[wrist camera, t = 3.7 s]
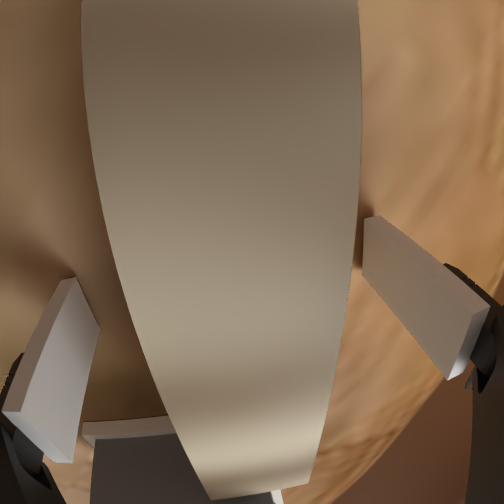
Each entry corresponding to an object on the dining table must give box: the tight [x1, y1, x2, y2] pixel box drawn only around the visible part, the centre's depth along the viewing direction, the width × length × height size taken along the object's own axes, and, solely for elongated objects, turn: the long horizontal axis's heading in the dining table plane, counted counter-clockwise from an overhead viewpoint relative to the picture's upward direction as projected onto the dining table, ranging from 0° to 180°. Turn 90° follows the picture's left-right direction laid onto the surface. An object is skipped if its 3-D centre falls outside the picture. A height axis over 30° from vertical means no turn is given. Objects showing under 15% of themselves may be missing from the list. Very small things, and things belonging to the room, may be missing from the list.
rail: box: [81, 0, 362, 500], centre depth 10 cm, size 17×4×6 cm, turn 3°
